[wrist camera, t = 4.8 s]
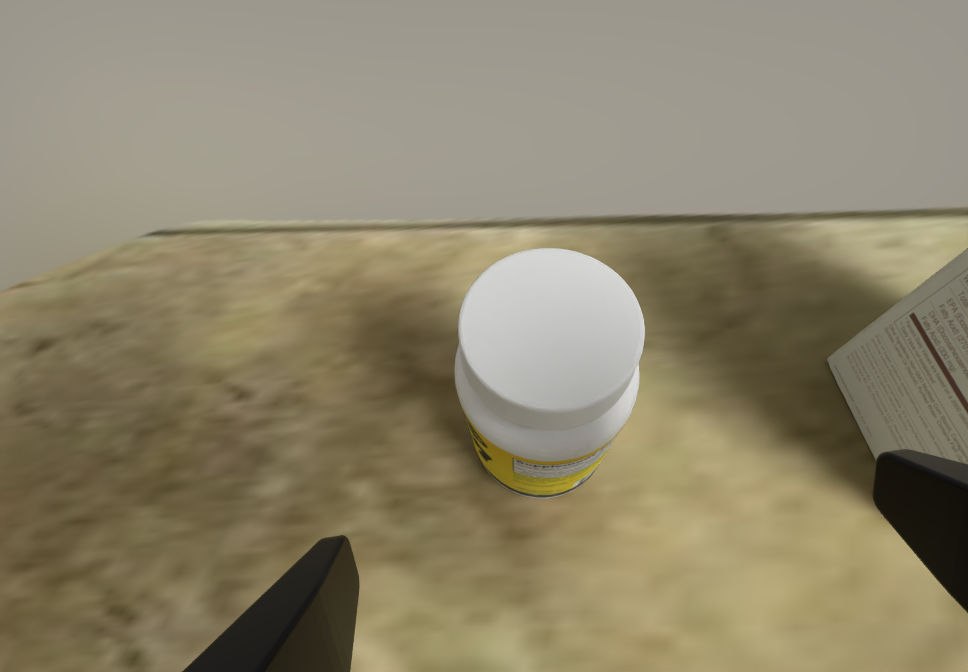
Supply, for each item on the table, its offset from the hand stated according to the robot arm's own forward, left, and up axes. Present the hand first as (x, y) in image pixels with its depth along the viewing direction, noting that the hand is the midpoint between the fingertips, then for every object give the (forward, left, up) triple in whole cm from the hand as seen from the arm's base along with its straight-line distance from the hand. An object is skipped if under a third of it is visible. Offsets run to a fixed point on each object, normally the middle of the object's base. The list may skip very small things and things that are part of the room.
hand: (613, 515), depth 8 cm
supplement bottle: (+2, +4, -11) cm, 12 cm away
